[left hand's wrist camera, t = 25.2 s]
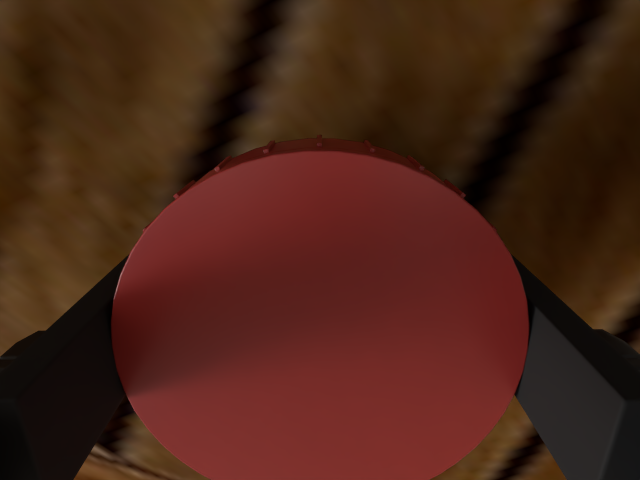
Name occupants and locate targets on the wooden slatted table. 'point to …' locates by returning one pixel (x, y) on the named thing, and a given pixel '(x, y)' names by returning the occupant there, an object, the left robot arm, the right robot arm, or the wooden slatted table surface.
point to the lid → (320, 318)
